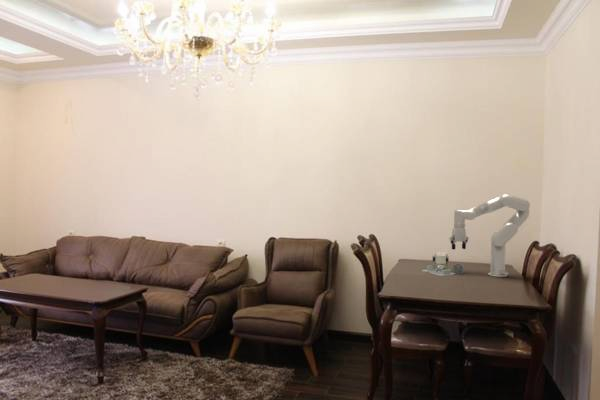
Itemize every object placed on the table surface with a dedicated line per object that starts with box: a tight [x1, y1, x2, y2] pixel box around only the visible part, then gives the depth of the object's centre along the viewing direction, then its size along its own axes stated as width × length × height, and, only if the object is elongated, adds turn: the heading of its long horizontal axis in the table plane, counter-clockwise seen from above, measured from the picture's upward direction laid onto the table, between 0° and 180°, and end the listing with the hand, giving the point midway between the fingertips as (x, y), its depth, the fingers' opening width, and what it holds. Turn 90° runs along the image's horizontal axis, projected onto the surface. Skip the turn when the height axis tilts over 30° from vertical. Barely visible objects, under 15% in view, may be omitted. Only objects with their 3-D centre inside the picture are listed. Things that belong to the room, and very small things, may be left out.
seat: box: [421, 264, 456, 277], centre depth 342 cm, size 20×14×6 cm
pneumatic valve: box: [432, 253, 449, 270], centre depth 360 cm, size 6×12×12 cm, turn 76°
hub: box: [452, 263, 465, 275], centre depth 344 cm, size 7×7×6 cm
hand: (458, 249), depth 344 cm, fingers open, 9 cm apart
